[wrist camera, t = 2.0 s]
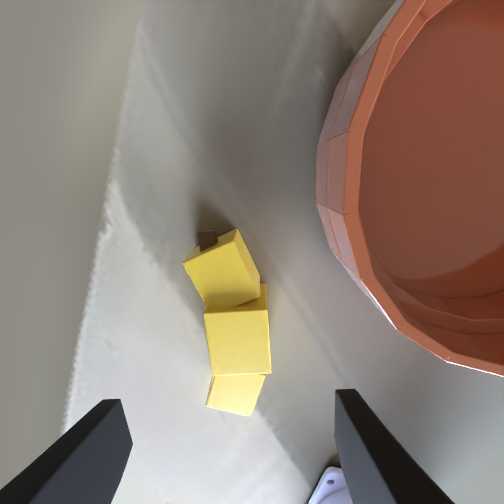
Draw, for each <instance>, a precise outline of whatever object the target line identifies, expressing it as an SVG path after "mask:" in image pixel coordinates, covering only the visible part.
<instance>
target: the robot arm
mask: <svg viewBox="0 0 504 504" xmlns="http://www.w3.org/2000/svg"><path fill="white" fill-rule="evenodd" d="M335 441H336V445H337V450H338V454H339V458H340V463H341V467H342V469H341V468H336V467H328V468H327V469H326V470H325V472H324V474H323V476H322V478H321V480H320V481H319V483H318V485H317V487H316V489H315V491H314V493H313V495H312V497H311V499H310V501H309V503H308V504H455V503H454V502H453V501H452V500H451V499H450V498H449V497H448V496H447V495H446V494H445V493H444V492H443V491H442V490H441V489H440V488H439V486H438V485H437V484H436V483H435V482H434V481H433V480H432V479H431V478H430V477H429V476H428V475H427V474H426V472H425V471H424V470H423V469H422V468H421V467H420V466H419V465H418V464H417V463H416V461H415V460H414V459H413V458H412V457H411V456H410V455H409V453H408V452H407V451H406V450H405V449H404V448H403V447H402V445H401V444H400V443H399V442H398V441H397V440H396V439H395V437H394V436H393V435H392V434H391V433H390V431H389V430H388V429H387V428H386V427H385V425H384V424H383V423H382V422H381V421H380V419H379V418H378V417H377V416H376V414H375V413H374V412H373V411H372V409H371V408H370V407H369V406H368V404H367V403H366V402H365V400H364V399H363V398H362V397H361V395H360V394H359V393H358V391H356V390H355V389H339V390H336V391H335ZM132 445H133V442H132V439H131V435H130V432H129V428H128V425H127V421H126V418H125V414H124V411H123V407H122V404H121V400H120V399H106V400H102V401H101V402H99V403H98V404H97V405H96V406H95V407H94V408H92V409H91V410H90V411H89V412H88V413H87V414H86V415H85V416H84V417H82V418H81V419H80V420H79V421H78V422H77V423H76V424H75V425H74V426H73V427H71V428H70V429H69V430H68V431H67V432H66V433H65V434H64V435H63V436H61V437H60V438H59V439H58V440H57V441H56V442H55V443H54V444H53V445H51V447H49V448H48V449H47V450H46V451H45V452H44V453H43V454H42V455H40V456H39V457H38V458H37V459H36V460H35V461H34V462H32V463H31V464H30V465H29V466H28V467H27V468H26V469H24V470H23V471H22V472H21V473H20V474H19V475H17V476H16V477H15V478H14V479H13V480H12V481H10V482H9V483H8V484H7V485H6V486H4V487H3V488H2V489H1V490H0V504H111V502H112V499H113V497H114V495H115V493H116V490H117V488H118V486H119V483H120V481H121V478H122V475H123V472H124V470H125V467H126V464H127V461H128V458H129V455H130V451H131V448H132Z"/></svg>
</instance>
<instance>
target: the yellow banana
mask: <svg viewBox="0 0 504 504" xmlns="http://www.w3.org/2000/svg"><path fill="white" fill-rule="evenodd" d="M198 240H199V246H197V247H195V248H194V250H193V251H192V252H191V253H190V254H189V255H188V257H187V258H186V259H185V260H184V261H183V265H184V267H185V269H186V271H187V272H188V274H189V276H190V278H191V280H192V281H193V283H194V285H195V287H196V289H197V290H198V292H199V294H200V296H201V297H202V299H203V301H204V303H205V305H206V307H205V310H204V313H203V315H204V322H205V329H206V336H207V342H208V349H209V356H210V363H211V370H212V379H211V384H210V388H209V393H208V397H207V401H206V406H207V407H211V408H215V409H219V410H223V411H227V412H232V413H236V414H240V415H244V416H249V417H251V415H252V412H253V410H254V407H255V404H256V401H257V399H258V396H259V393H260V390H261V388H262V385H263V382H264V379H265V377H266V373H271V372H272V369H271V354H270V339H269V324H268V309H267V294H266V284H265V283H261V284H260V275H259V272H258V270H257V268H256V266H255V264H254V262H253V260H252V258H251V256H250V253H249V251H248V249H247V247H246V245H245V243H244V241H243V239H242V237H241V235H240V232H239V230H238V229H235V230H233V231H230V232H228V233H226V234H224V235H221V236H219V237H218V235H217V229H216V228H208V229H201V230H200V231H199V232H198Z"/></svg>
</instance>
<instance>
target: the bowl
mask: <svg viewBox="0 0 504 504" xmlns="http://www.w3.org/2000/svg"><path fill="white" fill-rule="evenodd" d="M317 145H318V146H317V156H316V190H315V200H316V205H317V208H318V212H319V215H320V219H321V222H322V225H323V229H324V232H325V235H326V239H327V242H328V245H329V247H330V250H331V251H332V252H333V254H334V255H335V256H336V258H337V259H338V260H339V262H340V263H341V265H342V266H343V267H344V269H345V270H346V271H347V273H348V274H349V275H350V277H351V278H352V279H353V281H354V282H355V283H356V285H357V286H358V287H359V288H360V289H361V290H362V291H363V292H364V294H365V295H366V296H367V297H368V298H369V299H370V300H371V301H372V303H373V304H374V305H375V306H376V307H377V308H378V310H379V311H380V312H381V313H382V314H383V315H384V316H385V317H386V319H387V320H388V321H389V322H390V323H391V324H392V325H393V327H394V328H395V329H396V330H398V331H399V332H401V333H402V334H404V335H405V336H407V337H408V338H410V339H411V340H413V341H414V342H416V343H417V344H419V345H420V346H422V347H423V348H425V349H427V350H428V351H430V352H431V353H433V354H434V355H436V356H437V357H439V358H440V359H442V360H443V361H446V362H449V363H453V364H457V365H460V366H464V367H468V368H472V369H476V370H479V371H483V372H487V373H491V374H495V375H499V376H502V377H504V0H396V1H395V3H394V4H393V5H392V6H391V8H390V9H389V10H388V11H387V13H386V14H385V15H384V16H383V18H382V19H381V20H380V21H379V23H378V24H377V25H376V26H375V28H374V29H373V31H372V32H371V34H370V35H369V37H368V38H367V40H366V41H365V43H364V44H363V46H362V47H361V49H360V50H359V52H358V53H357V55H356V56H355V58H354V59H353V61H352V62H351V64H350V65H349V67H348V68H347V70H346V71H345V73H344V74H343V76H342V77H341V79H340V80H339V82H338V85H337V86H336V88H335V91H334V94H333V97H332V100H331V104H330V107H329V110H328V113H327V116H326V119H325V122H324V125H323V128H322V131H321V134H320V137H319V140H318V143H317Z"/></svg>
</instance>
